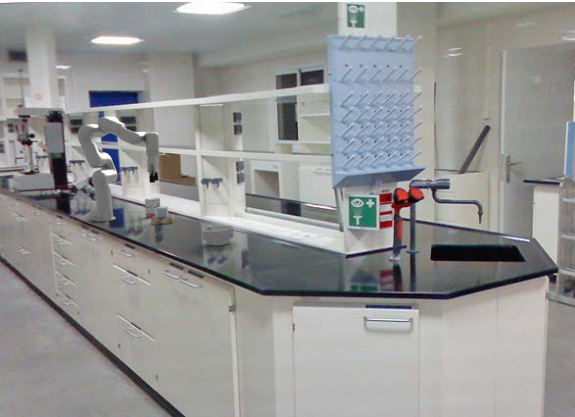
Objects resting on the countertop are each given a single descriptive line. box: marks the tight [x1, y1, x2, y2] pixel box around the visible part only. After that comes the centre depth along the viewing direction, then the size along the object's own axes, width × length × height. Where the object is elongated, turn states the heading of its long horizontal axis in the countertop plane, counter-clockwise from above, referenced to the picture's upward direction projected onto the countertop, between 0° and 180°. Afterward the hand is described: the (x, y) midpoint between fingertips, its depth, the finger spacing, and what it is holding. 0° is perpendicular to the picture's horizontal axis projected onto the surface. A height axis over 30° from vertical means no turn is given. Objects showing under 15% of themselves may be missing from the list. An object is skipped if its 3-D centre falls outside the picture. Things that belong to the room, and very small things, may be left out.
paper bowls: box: [201, 225, 235, 247], centre depth 272 cm, size 15×15×8 cm
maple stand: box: [150, 214, 176, 225], centre depth 337 cm, size 12×12×3 cm
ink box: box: [144, 197, 161, 219], centre depth 356 cm, size 9×5×12 cm, turn 143°
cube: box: [157, 206, 170, 217], centre depth 336 cm, size 6×6×6 cm
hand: (154, 181), depth 336 cm, fingers open, 9 cm apart
